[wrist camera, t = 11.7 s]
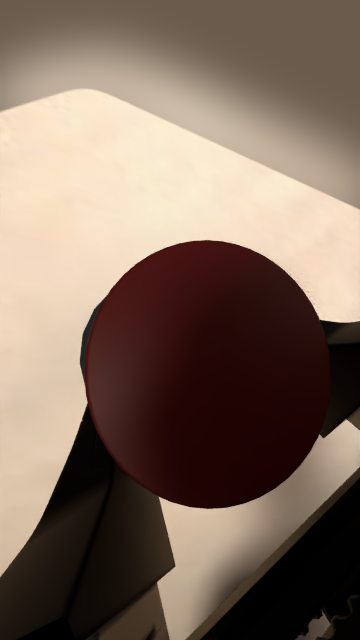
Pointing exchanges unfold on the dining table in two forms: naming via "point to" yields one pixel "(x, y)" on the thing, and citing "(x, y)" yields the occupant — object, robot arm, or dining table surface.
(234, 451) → the candle
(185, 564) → the dining table surface
